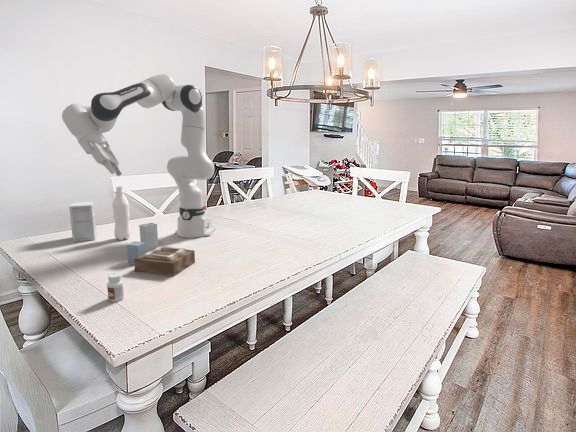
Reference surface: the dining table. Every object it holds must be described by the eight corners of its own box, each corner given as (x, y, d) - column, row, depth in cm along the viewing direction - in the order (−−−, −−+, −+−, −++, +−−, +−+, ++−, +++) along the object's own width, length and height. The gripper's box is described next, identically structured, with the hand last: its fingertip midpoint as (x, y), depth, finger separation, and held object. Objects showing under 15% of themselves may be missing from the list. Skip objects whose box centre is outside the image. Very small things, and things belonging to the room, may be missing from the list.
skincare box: (153, 248, 168) (151, 222, 166) (158, 250, 166) (157, 224, 163) (140, 251, 164) (138, 224, 161) (145, 254, 161) (144, 226, 158)
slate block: (135, 259, 154) (134, 241, 153) (146, 260, 153) (145, 242, 152) (127, 262, 150) (126, 244, 148) (139, 264, 149) (137, 245, 147)
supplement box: (97, 235, 187) (94, 201, 184) (95, 240, 179) (92, 205, 175) (75, 236, 184) (71, 202, 180) (72, 241, 175) (68, 205, 172)
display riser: (159, 258, 156) (158, 243, 155) (194, 262, 152) (194, 247, 151) (134, 271, 141) (133, 255, 139) (173, 276, 137) (173, 260, 136)
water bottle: (131, 240, 180) (127, 187, 175) (114, 241, 178) (110, 188, 172) (131, 236, 187) (127, 185, 181) (115, 237, 184) (111, 186, 179)
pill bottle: (105, 299, 117) (103, 275, 116) (119, 294, 121) (117, 271, 119) (112, 303, 115) (111, 279, 113) (126, 298, 118) (125, 275, 116)
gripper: (93, 134, 136) (117, 166, 138) (109, 144, 156) (129, 172, 158) (77, 144, 135) (102, 176, 137) (95, 152, 155) (116, 180, 157)
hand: (117, 174), depth 148 cm, fingers open, 8 cm apart
